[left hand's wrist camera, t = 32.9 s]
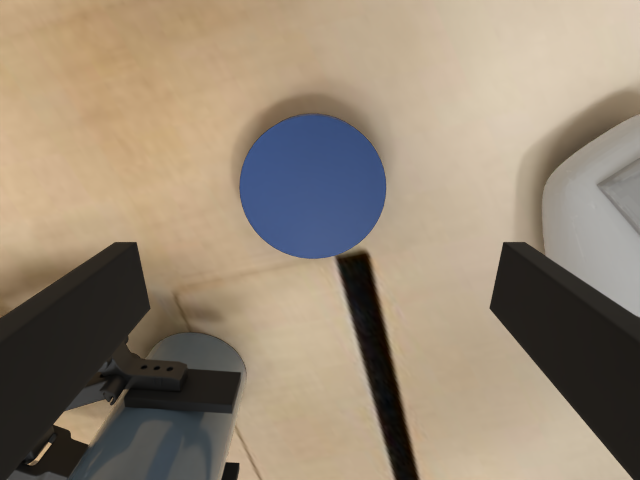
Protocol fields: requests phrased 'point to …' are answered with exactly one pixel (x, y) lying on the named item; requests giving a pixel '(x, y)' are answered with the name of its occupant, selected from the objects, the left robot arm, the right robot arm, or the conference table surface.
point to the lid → (312, 186)
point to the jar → (167, 426)
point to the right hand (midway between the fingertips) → (235, 441)
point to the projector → (599, 214)
